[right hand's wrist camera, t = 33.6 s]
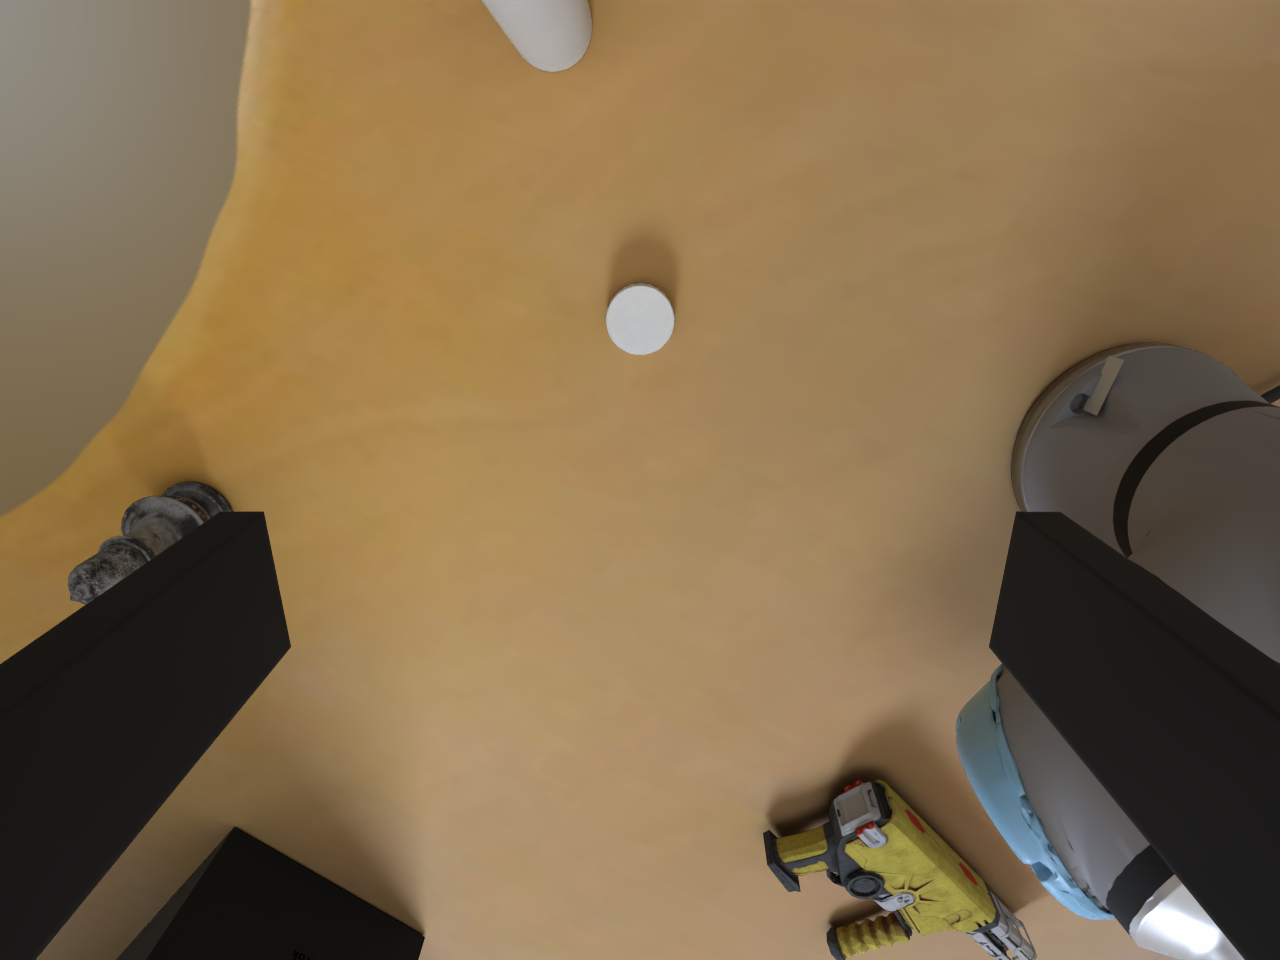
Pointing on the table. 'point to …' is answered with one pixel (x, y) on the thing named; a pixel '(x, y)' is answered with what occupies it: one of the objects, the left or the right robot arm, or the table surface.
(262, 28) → the table surface
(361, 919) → the cardboard box
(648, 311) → the cap
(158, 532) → the grey tall ringed piece
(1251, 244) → the table surface
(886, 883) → the toy gun
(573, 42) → the bottle
